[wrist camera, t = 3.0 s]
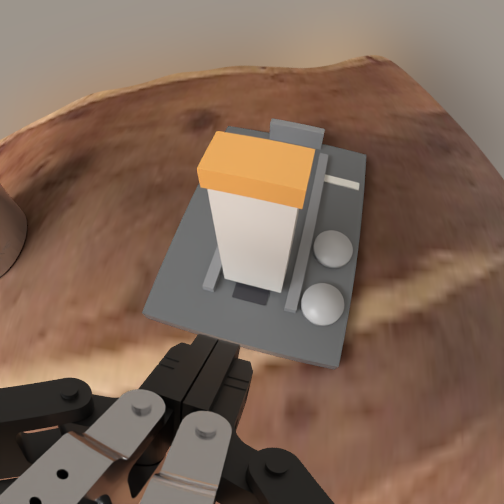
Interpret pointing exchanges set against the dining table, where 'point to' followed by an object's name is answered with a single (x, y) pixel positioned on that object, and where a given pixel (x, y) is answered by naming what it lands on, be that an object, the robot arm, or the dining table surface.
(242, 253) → the fader
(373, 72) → the dining table surface
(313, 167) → the console
